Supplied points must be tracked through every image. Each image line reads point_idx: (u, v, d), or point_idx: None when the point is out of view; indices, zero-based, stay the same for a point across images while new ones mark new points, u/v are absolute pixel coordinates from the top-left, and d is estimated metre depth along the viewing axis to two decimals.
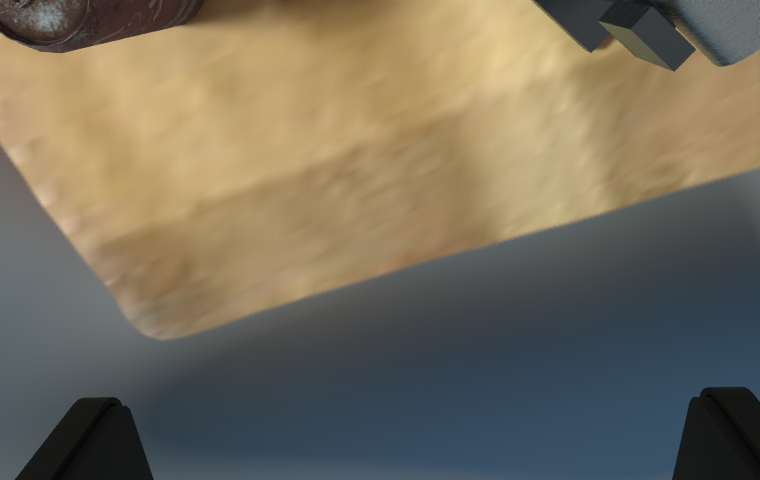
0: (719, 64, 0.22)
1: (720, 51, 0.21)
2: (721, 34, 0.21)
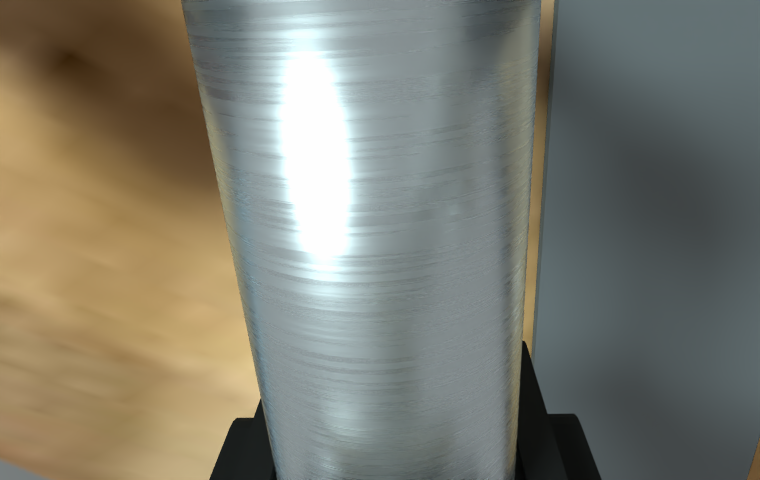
0: None
1: None
2: None
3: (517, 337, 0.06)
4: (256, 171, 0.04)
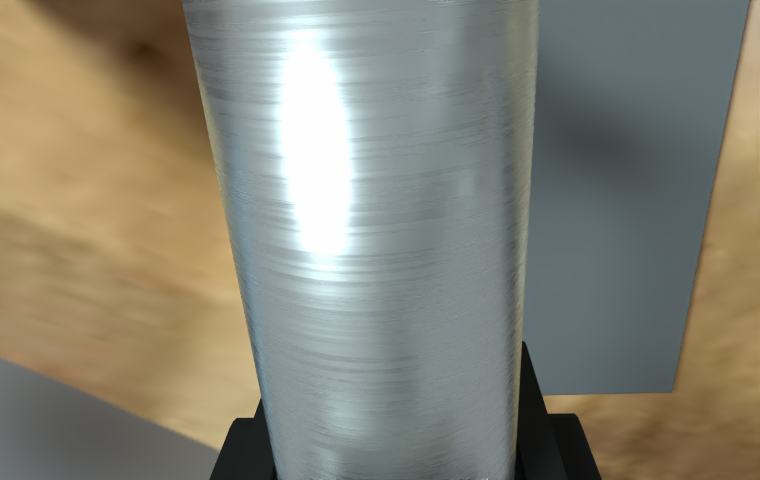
0: None
1: None
2: None
3: (517, 336, 0.06)
4: (257, 171, 0.04)
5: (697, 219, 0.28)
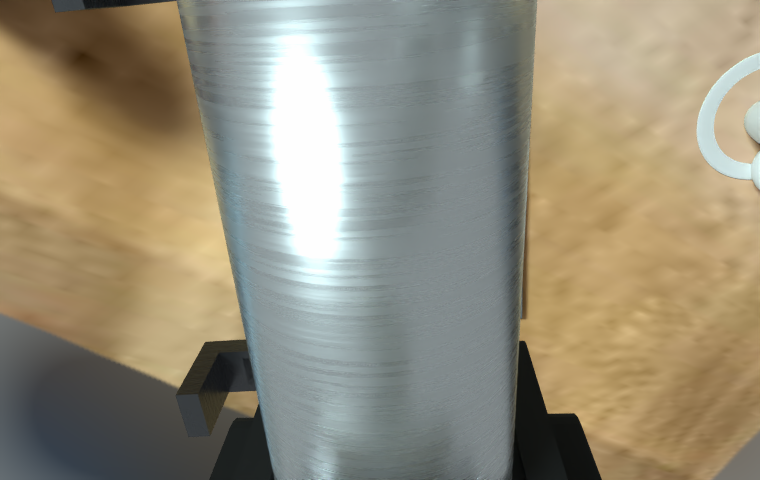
0: None
1: None
2: None
3: (514, 340, 0.06)
4: (253, 176, 0.04)
5: None
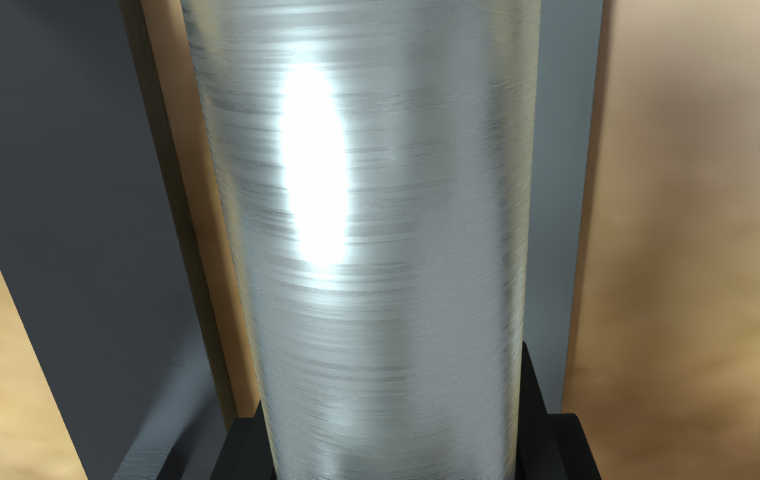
0: None
1: None
2: None
3: (517, 344, 0.06)
4: (257, 180, 0.04)
5: (554, 340, 0.18)
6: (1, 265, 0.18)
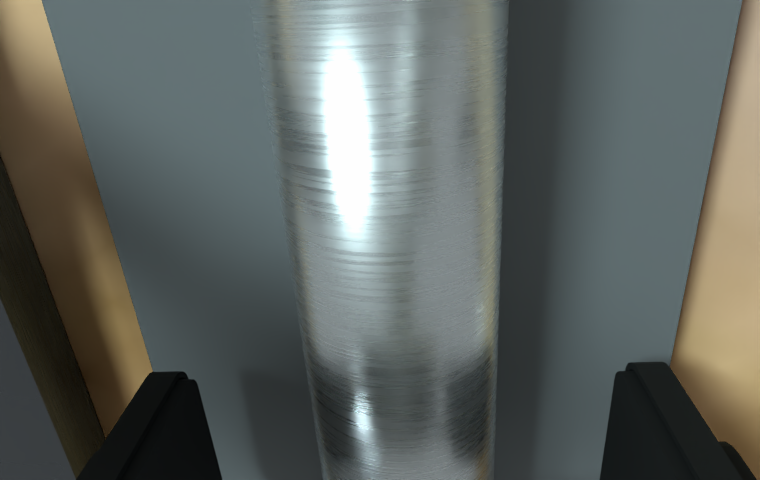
0: None
1: None
2: None
3: (496, 249, 0.07)
4: (305, 112, 0.06)
5: None
6: None
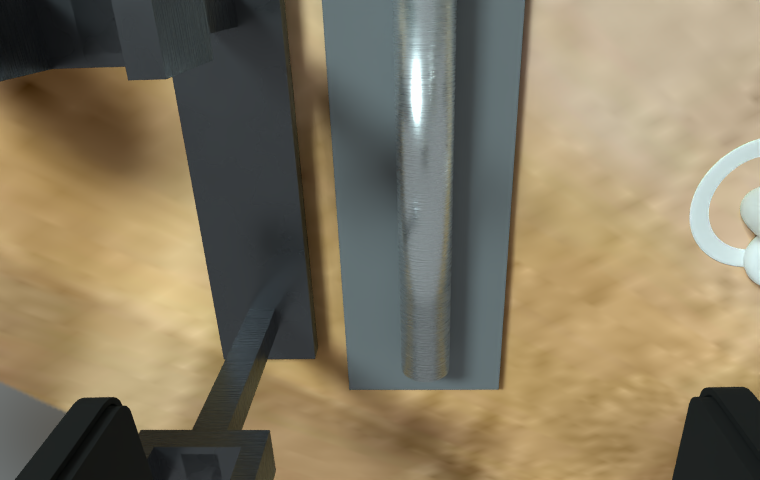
0: (401, 368, 0.35)
1: (404, 365, 0.34)
2: (410, 360, 0.33)
3: (452, 109, 0.28)
4: (408, 70, 0.26)
5: (500, 242, 0.33)
6: (194, 190, 0.32)
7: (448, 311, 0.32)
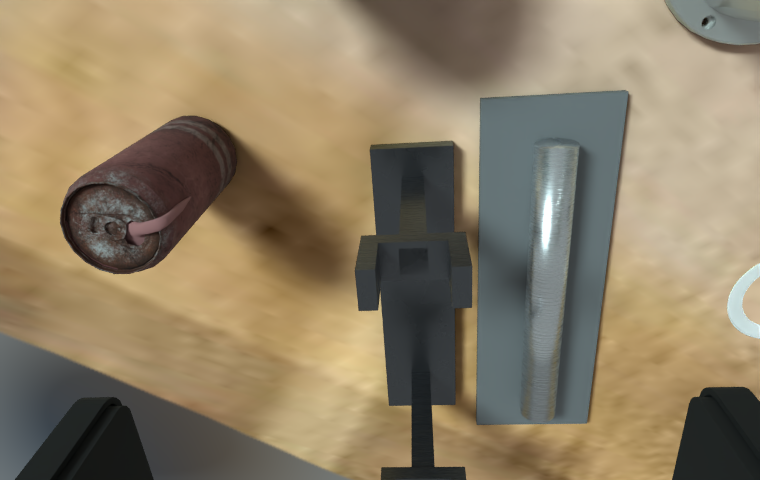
0: (520, 412, 0.49)
1: (524, 410, 0.48)
2: (529, 408, 0.47)
3: (569, 249, 0.41)
4: (543, 228, 0.40)
5: (593, 324, 0.47)
6: (382, 296, 0.46)
7: (558, 374, 0.46)
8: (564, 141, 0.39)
